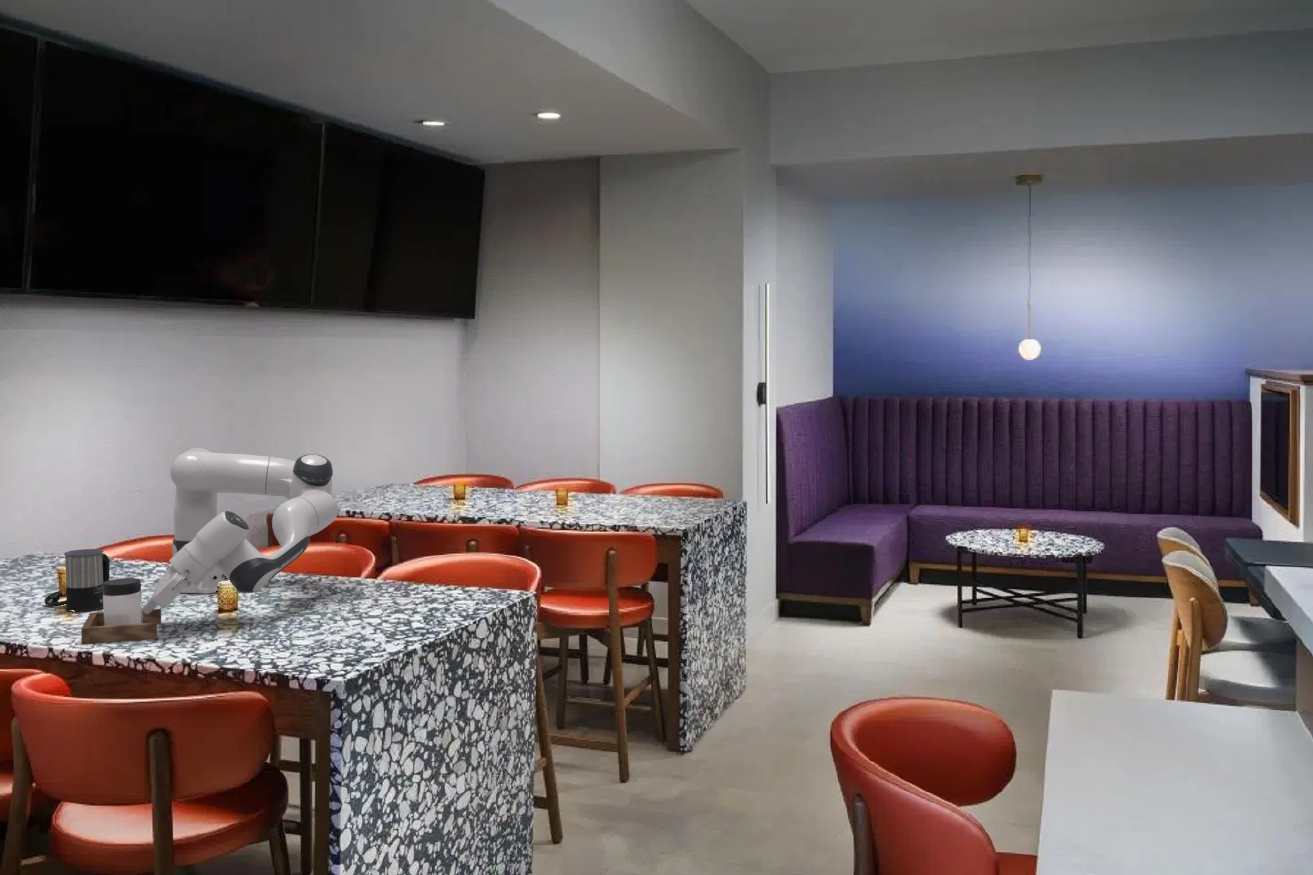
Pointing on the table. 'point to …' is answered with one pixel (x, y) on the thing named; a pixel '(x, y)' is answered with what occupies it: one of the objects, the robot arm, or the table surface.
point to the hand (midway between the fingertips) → (144, 611)
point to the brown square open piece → (120, 629)
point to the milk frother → (83, 580)
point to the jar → (122, 602)
